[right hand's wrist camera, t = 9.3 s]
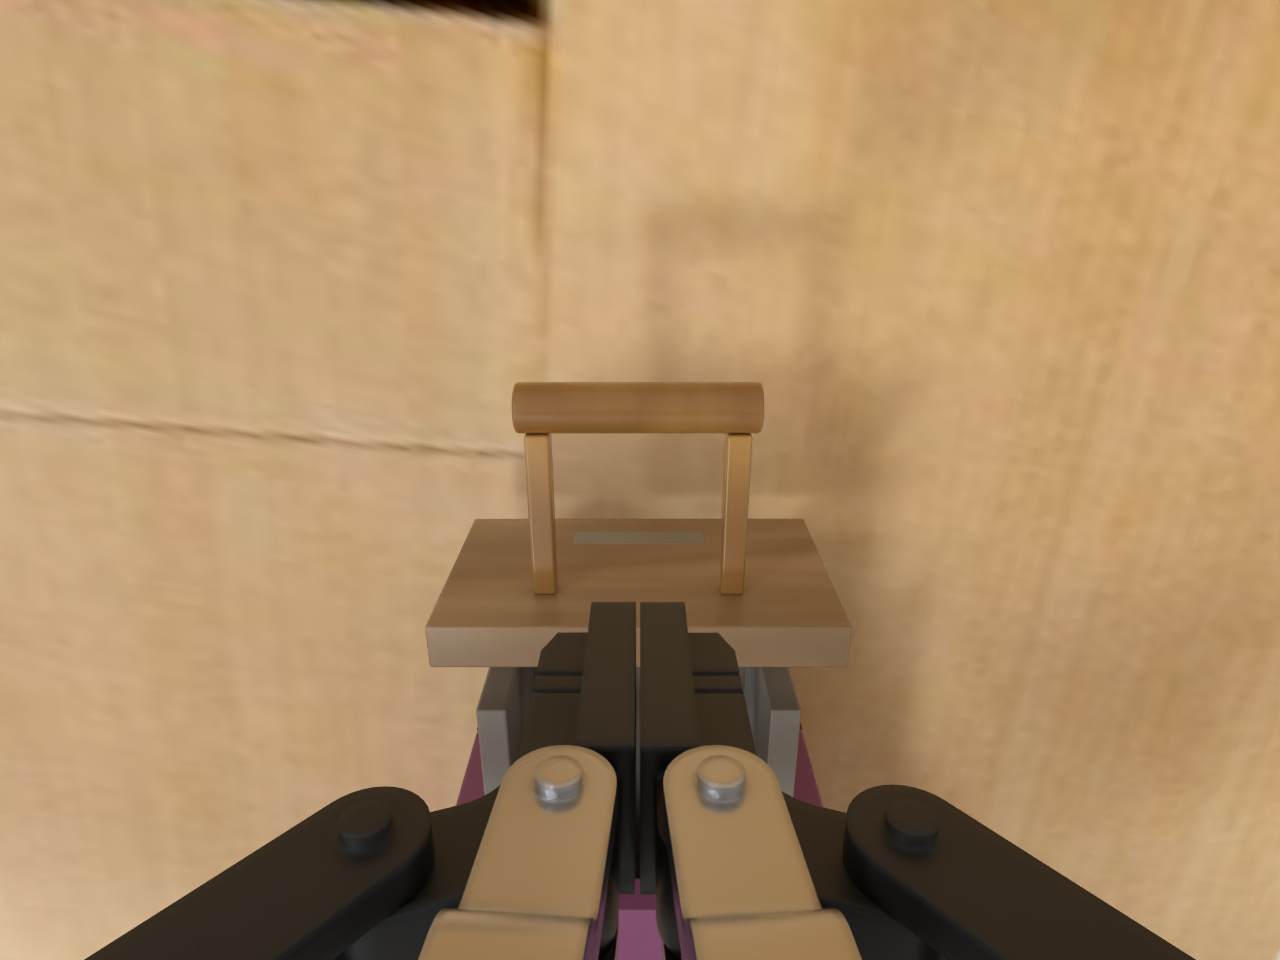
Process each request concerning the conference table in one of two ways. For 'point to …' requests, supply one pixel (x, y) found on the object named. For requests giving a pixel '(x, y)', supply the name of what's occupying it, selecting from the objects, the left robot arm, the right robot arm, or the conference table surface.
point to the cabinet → (639, 909)
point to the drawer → (638, 571)
